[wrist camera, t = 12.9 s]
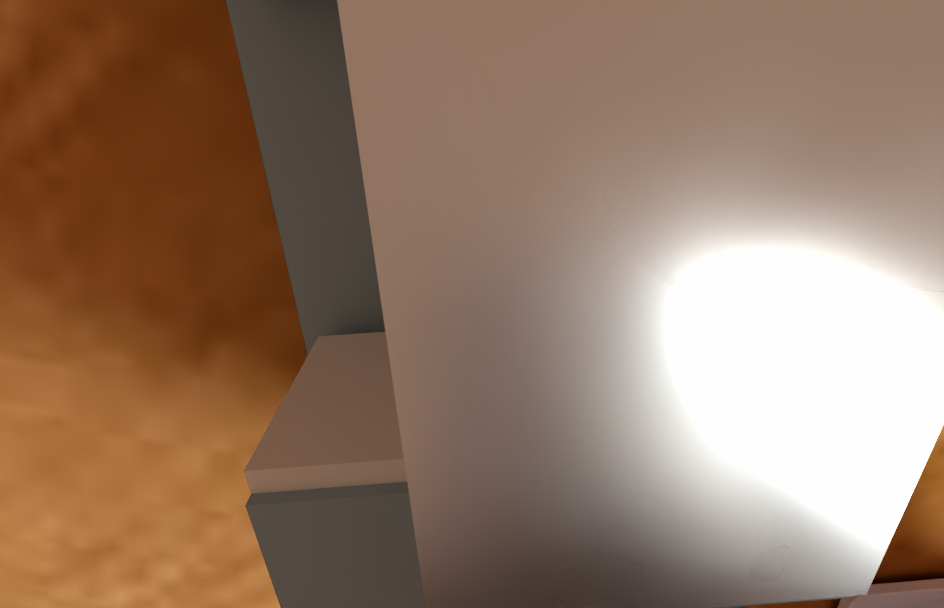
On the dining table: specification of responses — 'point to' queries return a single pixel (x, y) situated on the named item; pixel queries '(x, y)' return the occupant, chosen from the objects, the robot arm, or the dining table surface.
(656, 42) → the steel block
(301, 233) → the base
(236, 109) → the dining table surface
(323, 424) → the block
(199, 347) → the dining table surface
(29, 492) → the dining table surface
